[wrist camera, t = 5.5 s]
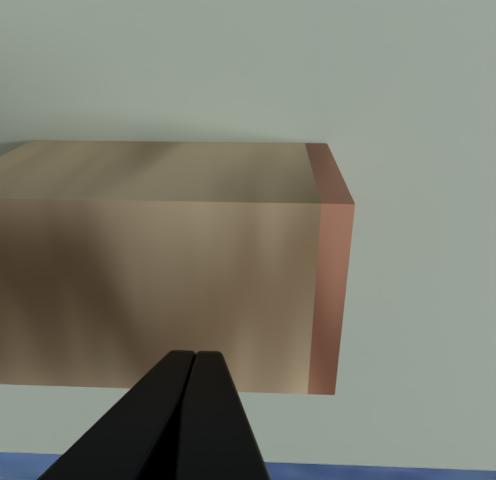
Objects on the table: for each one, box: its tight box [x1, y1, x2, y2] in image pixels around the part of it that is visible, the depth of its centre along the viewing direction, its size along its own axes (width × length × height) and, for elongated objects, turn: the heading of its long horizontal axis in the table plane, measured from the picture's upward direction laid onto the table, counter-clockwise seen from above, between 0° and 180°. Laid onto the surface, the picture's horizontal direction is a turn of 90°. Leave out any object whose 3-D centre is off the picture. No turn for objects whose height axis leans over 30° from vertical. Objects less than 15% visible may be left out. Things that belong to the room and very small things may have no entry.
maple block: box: [0, 140, 355, 395], centre depth 11 cm, size 4×4×8 cm
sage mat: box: [0, 0, 496, 471], centre depth 14 cm, size 20×22×1 cm
